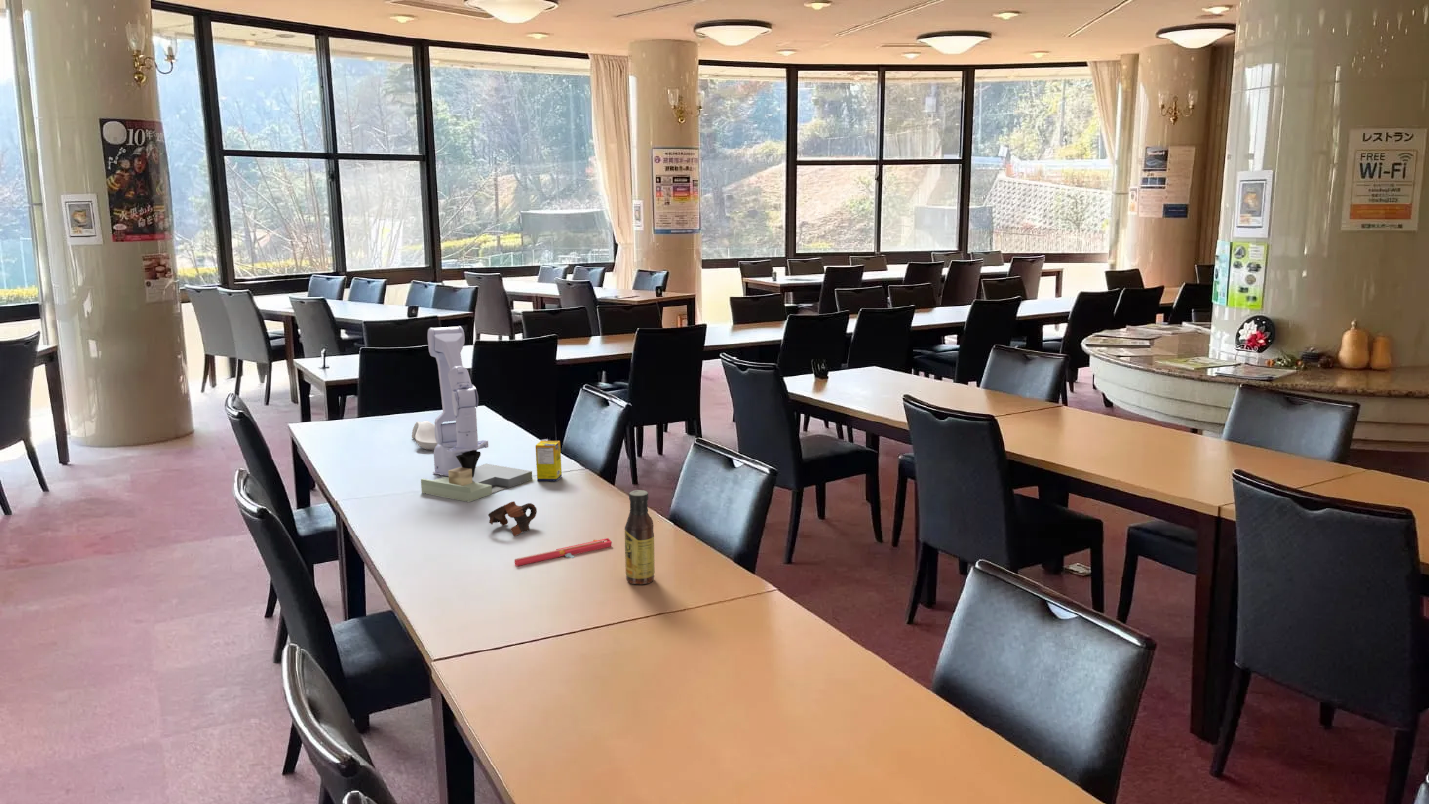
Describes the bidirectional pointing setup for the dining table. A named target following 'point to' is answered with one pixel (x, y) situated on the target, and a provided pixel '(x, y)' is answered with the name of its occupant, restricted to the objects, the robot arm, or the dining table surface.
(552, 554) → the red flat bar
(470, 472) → the maple block
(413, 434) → the spoon rest
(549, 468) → the supplement box
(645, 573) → the sauce bottle
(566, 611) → the dining table surface
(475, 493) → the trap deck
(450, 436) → the robot arm
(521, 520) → the pottery mug
